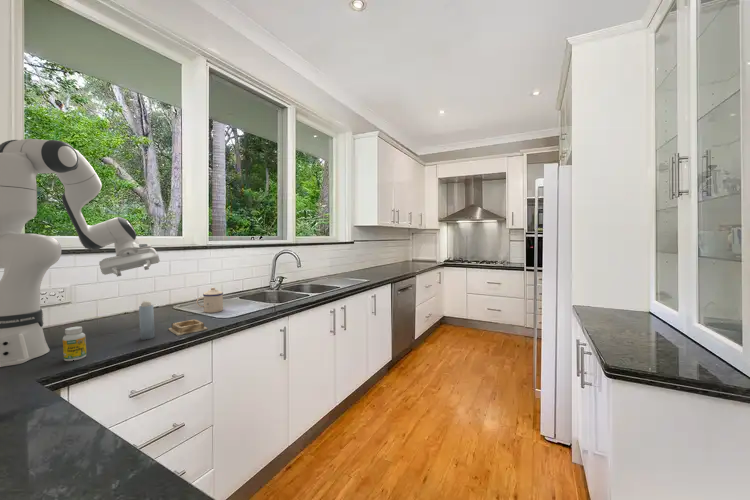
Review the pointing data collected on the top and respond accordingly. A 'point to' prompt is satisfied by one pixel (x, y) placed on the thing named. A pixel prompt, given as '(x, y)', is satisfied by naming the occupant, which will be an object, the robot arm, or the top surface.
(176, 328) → the cradle jig
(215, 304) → the teacup with lid
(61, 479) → the top surface
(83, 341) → the supplement bottle
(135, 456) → the top surface
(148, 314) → the blue bottle
